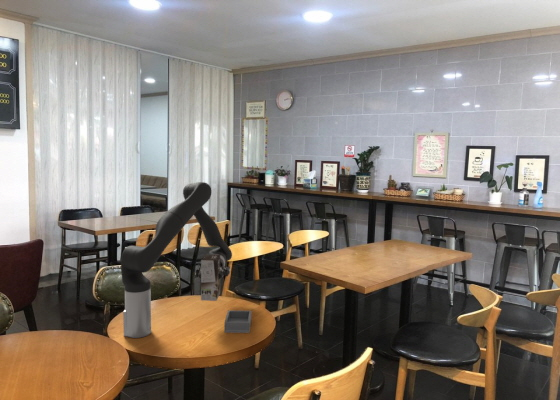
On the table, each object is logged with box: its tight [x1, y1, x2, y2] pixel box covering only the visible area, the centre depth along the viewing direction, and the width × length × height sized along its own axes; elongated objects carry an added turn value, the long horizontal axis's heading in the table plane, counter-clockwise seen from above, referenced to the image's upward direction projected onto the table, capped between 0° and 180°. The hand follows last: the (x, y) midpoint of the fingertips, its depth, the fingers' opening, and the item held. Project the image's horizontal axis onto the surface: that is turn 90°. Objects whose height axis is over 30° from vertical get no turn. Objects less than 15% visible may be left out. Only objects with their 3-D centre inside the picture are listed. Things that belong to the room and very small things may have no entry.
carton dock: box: [223, 309, 252, 334], centre depth 174 cm, size 10×13×4 cm
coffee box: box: [200, 254, 221, 302], centre depth 172 cm, size 9×6×16 cm
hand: (210, 276), depth 170 cm, fingers closed on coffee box, 6 cm apart
